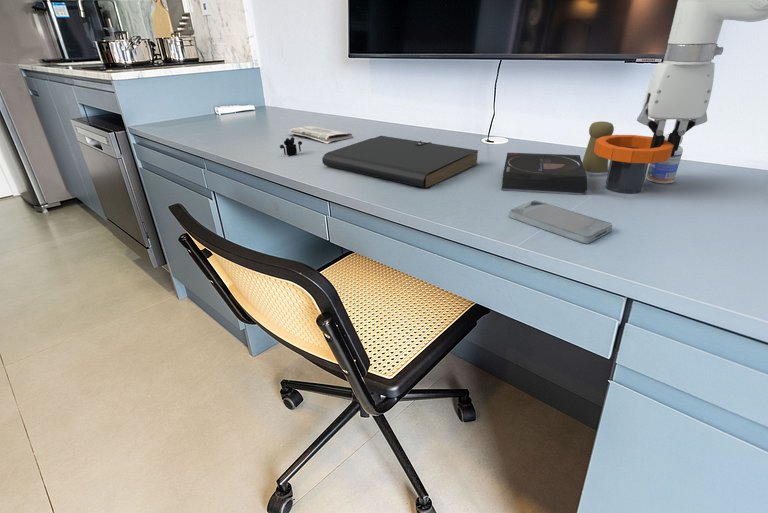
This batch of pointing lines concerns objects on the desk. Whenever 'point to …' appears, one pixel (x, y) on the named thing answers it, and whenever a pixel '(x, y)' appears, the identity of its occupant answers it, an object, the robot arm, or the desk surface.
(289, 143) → the wireless earbuds
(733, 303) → the desk surface
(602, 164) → the olive pawn
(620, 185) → the cup
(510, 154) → the portable cd player
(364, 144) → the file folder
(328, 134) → the newspaper
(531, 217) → the phone
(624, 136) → the ring
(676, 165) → the pill bottle
